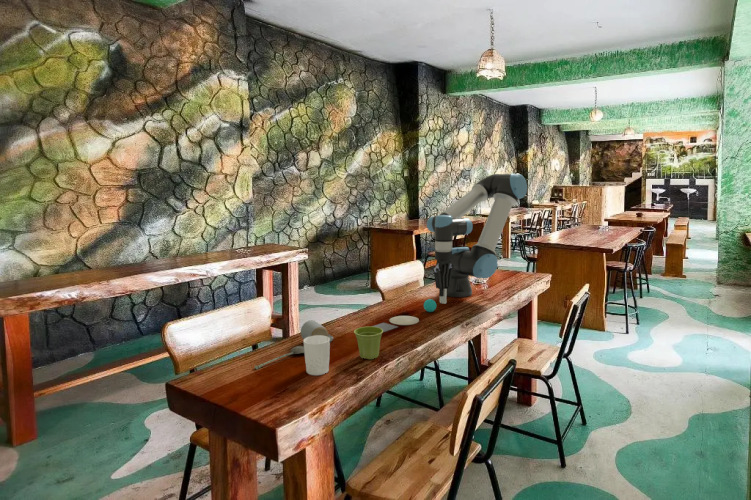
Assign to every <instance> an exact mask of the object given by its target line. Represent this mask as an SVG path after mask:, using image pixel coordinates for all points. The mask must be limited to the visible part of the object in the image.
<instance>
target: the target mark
mask: <svg viewBox="0 0 751 500" xmlns="http://www.w3.org/2000/svg"><path fill="white" fill-rule="evenodd" d="M388 321H389V322H390V324H392V325H396V326H397V325H398V326H410V325H415V324H417V323H419V322H420V320H419V318H418V317H416V316H410V315H398V316H394V317H391V318H389V319H388Z"/></svg>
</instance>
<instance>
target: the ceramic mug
mask: <svg viewBox="0 0 751 500" xmlns="http://www.w3.org/2000/svg"><path fill="white" fill-rule="evenodd" d="M315 335H322V336H327V337H329V338H330V342H332V341H333V340H334V337H333V336H332V335H330V334H329V332H328V330H327V328H326V327H325V326H323V325H322V324H320V322H319V323H318V322H317V321H316V320H307V321H306V322H304V323H303V324H302V326H301V329H300V336H301V338H302V339H303V340H304V339H305V338H307V337H310V336H315Z"/></svg>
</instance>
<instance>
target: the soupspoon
mask: <svg viewBox="0 0 751 500" xmlns="http://www.w3.org/2000/svg"><path fill="white" fill-rule="evenodd" d="M297 354H298V355H299V354H304V345H297V346H294V347H292V348H291V349H290V352H288V353H284V354H283V355H280V356H277V357H274V358H273V359H271V360H268V361H266V362H262V363H260V364H258V365H254V369H256V370H257V371H258V370H260V369H261V368H262V367H263V366H265V365H267V364H269V363H272V362H275V361H277V360H279V359H282V358H285V357H288V356H291V355H297Z"/></svg>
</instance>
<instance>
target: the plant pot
mask: <svg viewBox="0 0 751 500" xmlns="http://www.w3.org/2000/svg"><path fill="white" fill-rule="evenodd" d="M353 333H354V335H355V338H356V341H357V346H358V352H359V353H358V354H359V357H360V358H361V359H363V358H364V360H365V359H367V360H375V359H377V358H378V357H379V356H380V345H381V338H382V336H383V335H382V334H383V333H384V332H383V330H382V329H381V328H378V327H372V326H362V327H361V326H360V327H358V328H355V329H354V330H353ZM374 358H375V359H374Z"/></svg>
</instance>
